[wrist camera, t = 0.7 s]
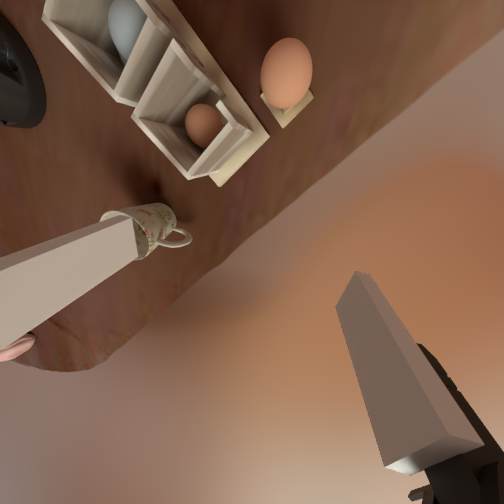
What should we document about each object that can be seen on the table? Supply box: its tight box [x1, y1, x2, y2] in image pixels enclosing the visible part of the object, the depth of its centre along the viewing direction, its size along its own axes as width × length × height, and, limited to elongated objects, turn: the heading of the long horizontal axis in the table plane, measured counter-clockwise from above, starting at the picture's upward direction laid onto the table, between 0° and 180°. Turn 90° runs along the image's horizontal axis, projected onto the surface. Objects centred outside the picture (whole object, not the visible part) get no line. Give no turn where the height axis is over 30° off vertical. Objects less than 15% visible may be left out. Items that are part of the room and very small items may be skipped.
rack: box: [42, 0, 270, 187], centre depth 22 cm, size 22×11×11 cm, turn 42°
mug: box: [100, 203, 192, 260], centre depth 32 cm, size 8×13×10 cm, turn 76°
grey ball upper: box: [108, 0, 148, 61], centre depth 19 cm, size 5×5×5 cm
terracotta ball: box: [260, 38, 312, 109], centre depth 18 cm, size 5×5×5 cm
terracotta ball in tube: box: [185, 104, 223, 148], centre depth 25 cm, size 5×5×5 cm
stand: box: [260, 88, 314, 128], centre depth 22 cm, size 5×5×5 cm
